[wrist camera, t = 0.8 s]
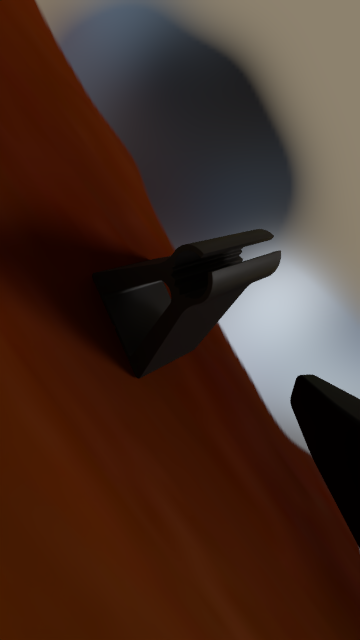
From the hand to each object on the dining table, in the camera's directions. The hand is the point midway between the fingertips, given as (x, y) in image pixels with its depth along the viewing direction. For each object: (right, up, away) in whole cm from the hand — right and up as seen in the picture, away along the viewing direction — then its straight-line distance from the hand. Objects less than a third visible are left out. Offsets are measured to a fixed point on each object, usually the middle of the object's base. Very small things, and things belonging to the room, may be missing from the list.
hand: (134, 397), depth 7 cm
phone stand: (-2, +2, +17) cm, 18 cm away
